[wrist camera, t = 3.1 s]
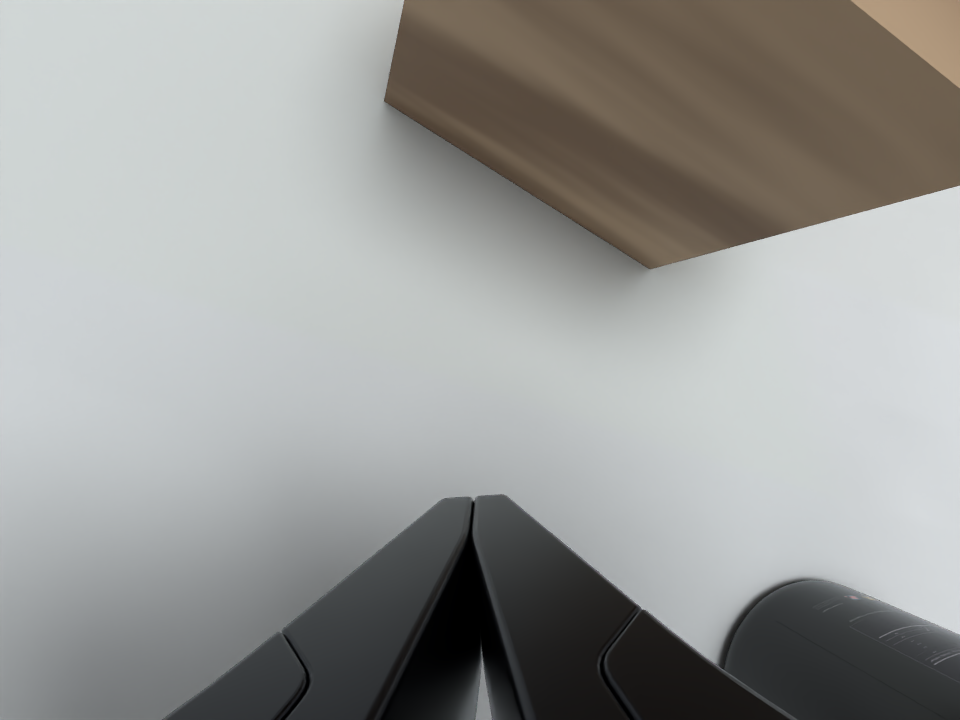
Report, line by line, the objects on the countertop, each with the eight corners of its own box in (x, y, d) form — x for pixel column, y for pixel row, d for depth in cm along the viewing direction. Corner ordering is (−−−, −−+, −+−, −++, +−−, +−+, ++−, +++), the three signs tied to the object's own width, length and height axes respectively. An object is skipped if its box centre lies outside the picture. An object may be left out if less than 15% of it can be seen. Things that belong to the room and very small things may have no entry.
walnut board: (649, 269, 21) (1049, 160, 9) (383, 101, 19) (466, -309, 7) (701, 167, 21) (1146, -60, 10) (446, -8, 19) (620, -561, 8)
